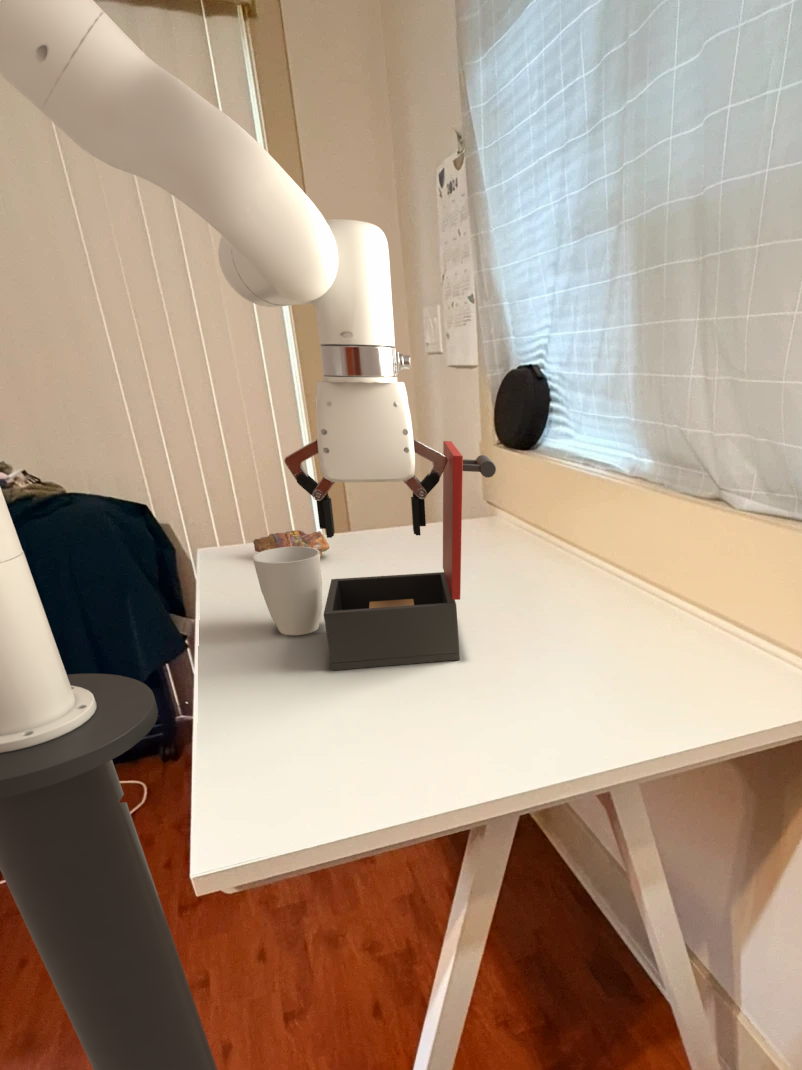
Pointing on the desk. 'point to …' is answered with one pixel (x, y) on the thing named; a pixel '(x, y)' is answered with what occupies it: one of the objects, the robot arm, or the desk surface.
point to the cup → (291, 587)
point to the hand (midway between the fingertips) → (374, 534)
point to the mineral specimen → (292, 541)
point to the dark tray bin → (391, 621)
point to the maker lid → (456, 510)
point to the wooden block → (391, 603)
